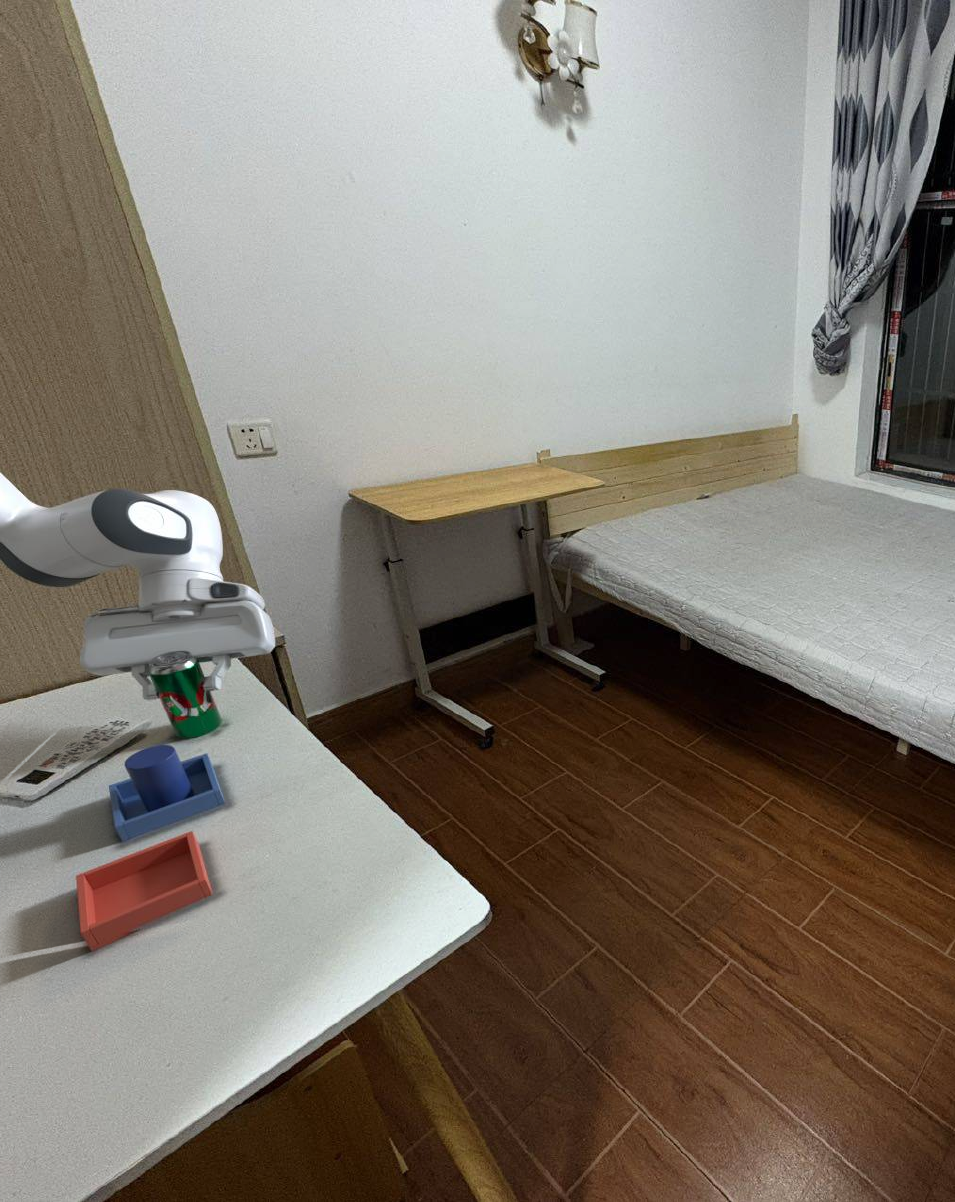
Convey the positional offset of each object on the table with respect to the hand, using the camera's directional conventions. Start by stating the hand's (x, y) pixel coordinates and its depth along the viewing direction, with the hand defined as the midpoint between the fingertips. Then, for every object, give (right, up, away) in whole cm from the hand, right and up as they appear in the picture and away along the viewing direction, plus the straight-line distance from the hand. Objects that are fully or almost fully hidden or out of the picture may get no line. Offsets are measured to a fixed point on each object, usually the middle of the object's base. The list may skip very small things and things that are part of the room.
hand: (183, 694), depth 89 cm
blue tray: (+7, -12, -9) cm, 17 cm away
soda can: (-1, -6, +3) cm, 7 cm away
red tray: (+16, -18, -20) cm, 32 cm away
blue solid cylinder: (+7, -12, -9) cm, 17 cm away
